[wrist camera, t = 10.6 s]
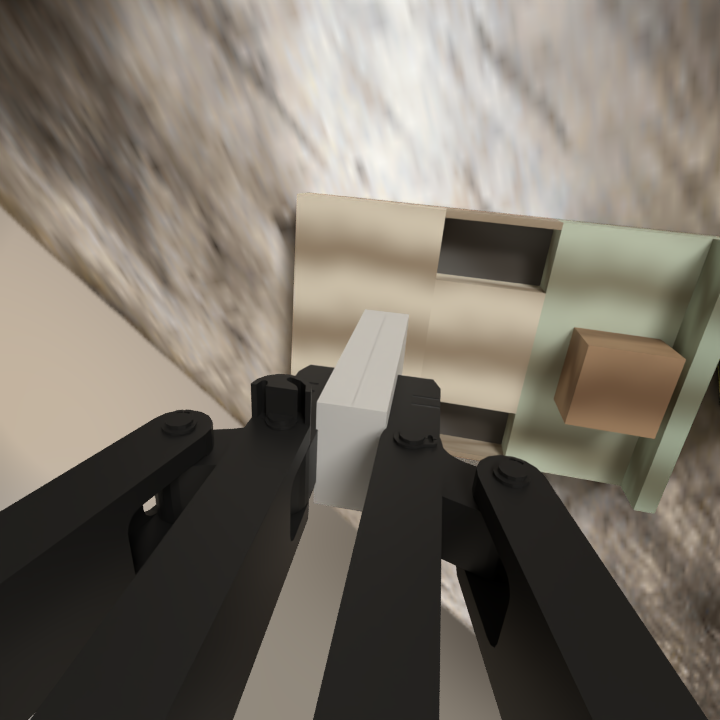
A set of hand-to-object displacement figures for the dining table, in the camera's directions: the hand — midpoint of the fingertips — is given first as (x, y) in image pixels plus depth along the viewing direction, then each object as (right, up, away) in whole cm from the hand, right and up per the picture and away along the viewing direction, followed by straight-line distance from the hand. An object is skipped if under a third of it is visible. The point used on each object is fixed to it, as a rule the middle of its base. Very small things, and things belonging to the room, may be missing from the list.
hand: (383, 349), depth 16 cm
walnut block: (+18, -1, +19) cm, 26 cm away
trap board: (+9, +2, +23) cm, 25 cm away
